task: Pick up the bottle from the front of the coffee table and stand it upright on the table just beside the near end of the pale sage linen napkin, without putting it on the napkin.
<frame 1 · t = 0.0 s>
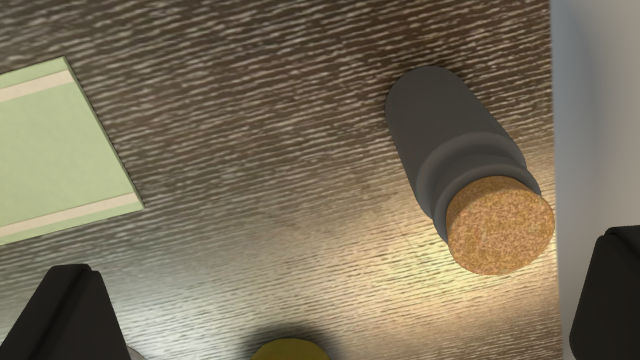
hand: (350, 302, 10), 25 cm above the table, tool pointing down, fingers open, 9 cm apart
bottle: (424, 104, 35), on the table
apple: (290, 354, 47), on the table
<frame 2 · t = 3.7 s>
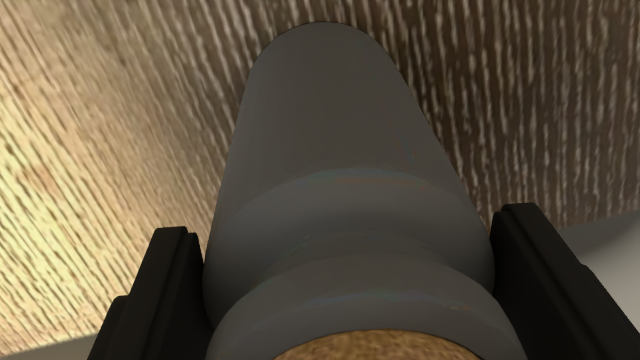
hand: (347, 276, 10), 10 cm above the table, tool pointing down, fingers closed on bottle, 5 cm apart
bottle: (323, 97, 19), on the table, touching gripper
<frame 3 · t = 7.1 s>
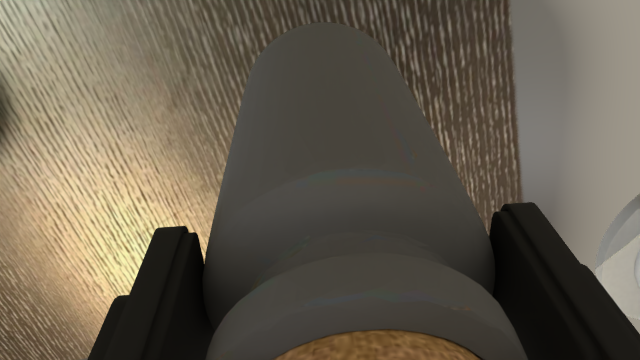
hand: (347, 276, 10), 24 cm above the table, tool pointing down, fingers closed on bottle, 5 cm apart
bottle: (323, 97, 19), point 14 cm above the table, touching gripper
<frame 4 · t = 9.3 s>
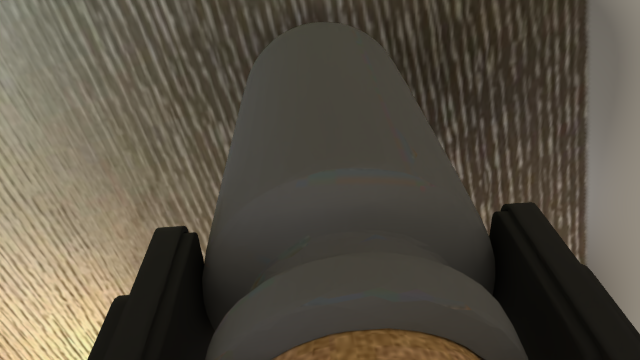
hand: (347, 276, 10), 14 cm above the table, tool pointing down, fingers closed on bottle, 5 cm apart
bottle: (323, 97, 19), point 4 cm above the table, touching gripper
when the fingers open (10 cm above the table, at t = 10.7 s): bottle stays where it is, on the table.
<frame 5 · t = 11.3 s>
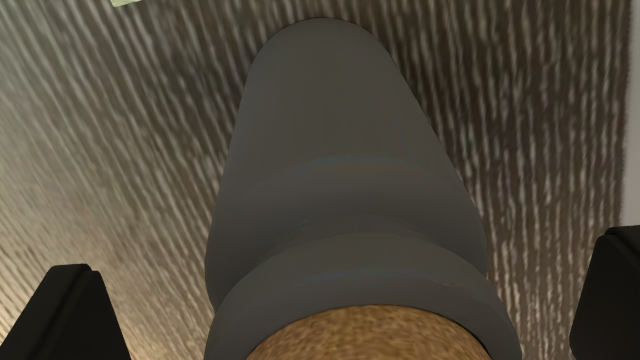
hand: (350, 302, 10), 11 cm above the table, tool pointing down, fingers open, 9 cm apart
bottle: (322, 92, 19), on the table
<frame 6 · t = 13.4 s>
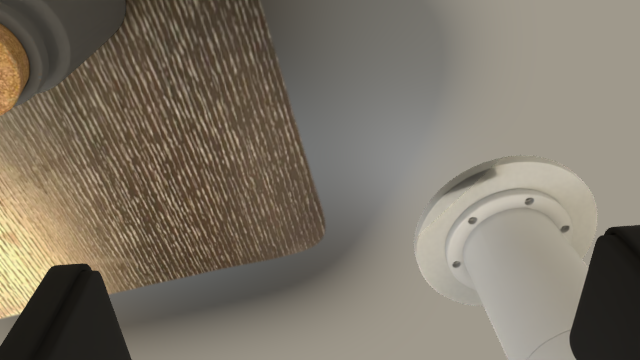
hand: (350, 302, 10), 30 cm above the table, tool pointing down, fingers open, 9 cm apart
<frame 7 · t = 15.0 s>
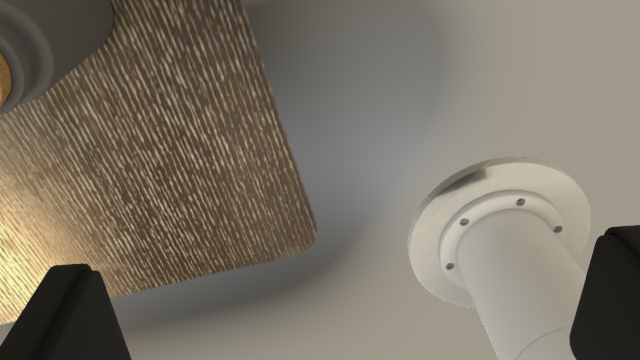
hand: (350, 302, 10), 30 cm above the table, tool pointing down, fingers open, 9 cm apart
bottle: (73, 9, 36), on the table
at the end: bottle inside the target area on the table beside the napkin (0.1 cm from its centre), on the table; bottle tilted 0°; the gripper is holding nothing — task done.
